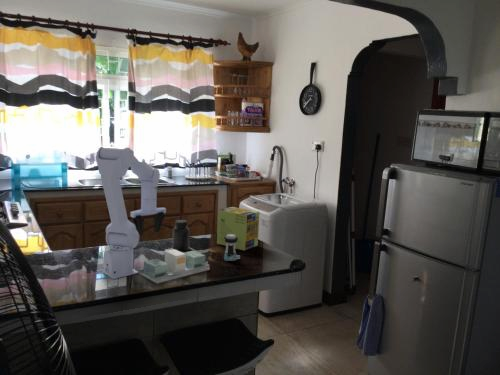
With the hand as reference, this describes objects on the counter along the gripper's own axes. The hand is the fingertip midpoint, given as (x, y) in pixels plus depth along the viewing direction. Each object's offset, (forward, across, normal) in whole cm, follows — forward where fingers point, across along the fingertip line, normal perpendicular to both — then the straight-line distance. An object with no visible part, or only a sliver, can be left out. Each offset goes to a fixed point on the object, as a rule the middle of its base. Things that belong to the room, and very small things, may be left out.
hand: (148, 233), depth 161 cm
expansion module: (+8, -2, -20) cm, 21 cm away
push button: (+10, +23, -23) cm, 34 cm away
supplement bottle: (+10, +16, 0) cm, 19 cm away
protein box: (+10, +40, -9) cm, 42 cm away
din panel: (+9, -2, -20) cm, 22 cm away
